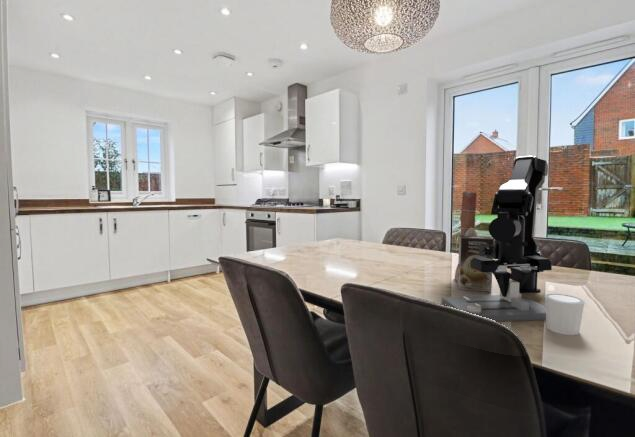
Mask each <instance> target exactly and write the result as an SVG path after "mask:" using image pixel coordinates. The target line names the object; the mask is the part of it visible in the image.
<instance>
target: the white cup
mask: <svg viewBox="0 0 635 437" xmlns="http://www.w3.org/2000/svg"><path fill="white" fill-rule="evenodd" d="M544 303H545V304H544V306H545V308H546V320H545V321H546V328H547V329H548V330H549V331H551V332H554V333H556V334H560V335H564V336H565V335H566V336H576V335H579V334H580V330H581V324H582V319H583V312H584V307H585V300H583V299H582V298H580V297H577V296H573V295H568V294H561V293H547V294H545V295H544Z"/></svg>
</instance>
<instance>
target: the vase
mask: <svg viewBox="0 0 635 437" xmlns="http://www.w3.org/2000/svg"><path fill="white" fill-rule="evenodd" d="M461 196H462V199H461V209H460V210H461V211H460V215H459V221H460V235H464V236H478V235H477V232H476V210H477V209H476V208H477V192H473V191H463V192H462V195H461ZM454 279H455V281H456V282H458V264H457V266H456V269H455V273H454Z"/></svg>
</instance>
